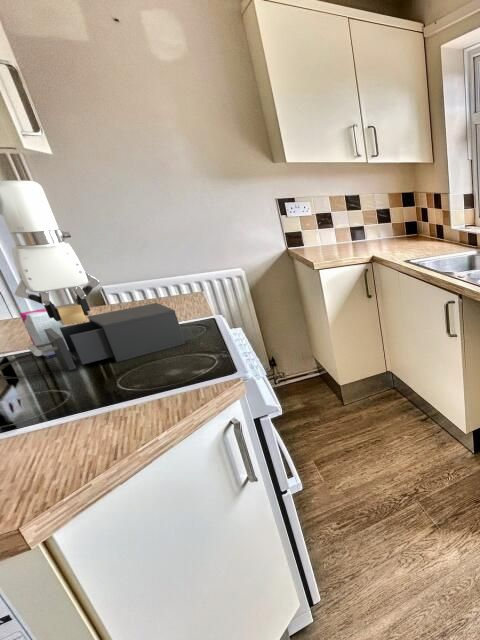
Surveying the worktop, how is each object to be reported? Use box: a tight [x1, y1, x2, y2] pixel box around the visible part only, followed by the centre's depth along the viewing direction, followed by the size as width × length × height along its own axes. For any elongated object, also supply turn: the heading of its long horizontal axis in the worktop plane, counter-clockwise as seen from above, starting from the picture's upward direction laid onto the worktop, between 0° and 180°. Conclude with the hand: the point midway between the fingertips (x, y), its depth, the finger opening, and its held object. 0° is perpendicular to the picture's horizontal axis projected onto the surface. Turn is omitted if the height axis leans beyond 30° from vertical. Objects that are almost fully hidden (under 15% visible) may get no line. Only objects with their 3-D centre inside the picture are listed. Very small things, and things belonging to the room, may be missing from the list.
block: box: [55, 302, 87, 326], centre depth 100 cm, size 4×4×4 cm
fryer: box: [87, 302, 186, 363], centre depth 111 cm, size 15×14×10 cm
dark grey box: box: [27, 321, 114, 371], centre depth 103 cm, size 17×12×8 cm
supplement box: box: [19, 308, 70, 359], centre depth 109 cm, size 6×6×12 cm
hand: (71, 316), depth 101 cm, fingers open, 4 cm apart
